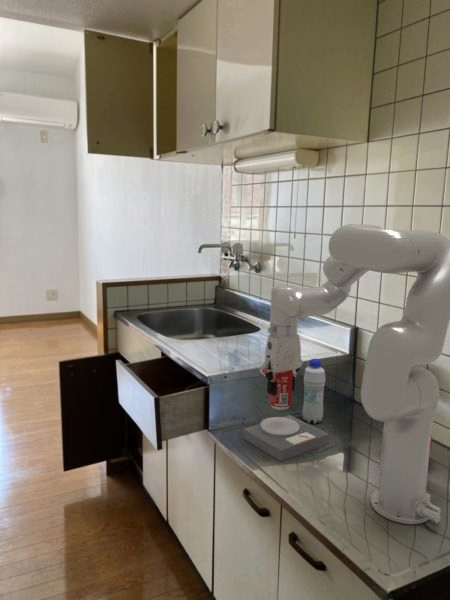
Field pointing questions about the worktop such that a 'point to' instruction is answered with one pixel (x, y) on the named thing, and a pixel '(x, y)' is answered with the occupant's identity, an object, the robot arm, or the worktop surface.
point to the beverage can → (282, 391)
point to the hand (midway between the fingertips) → (280, 391)
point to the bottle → (313, 392)
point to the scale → (285, 437)
